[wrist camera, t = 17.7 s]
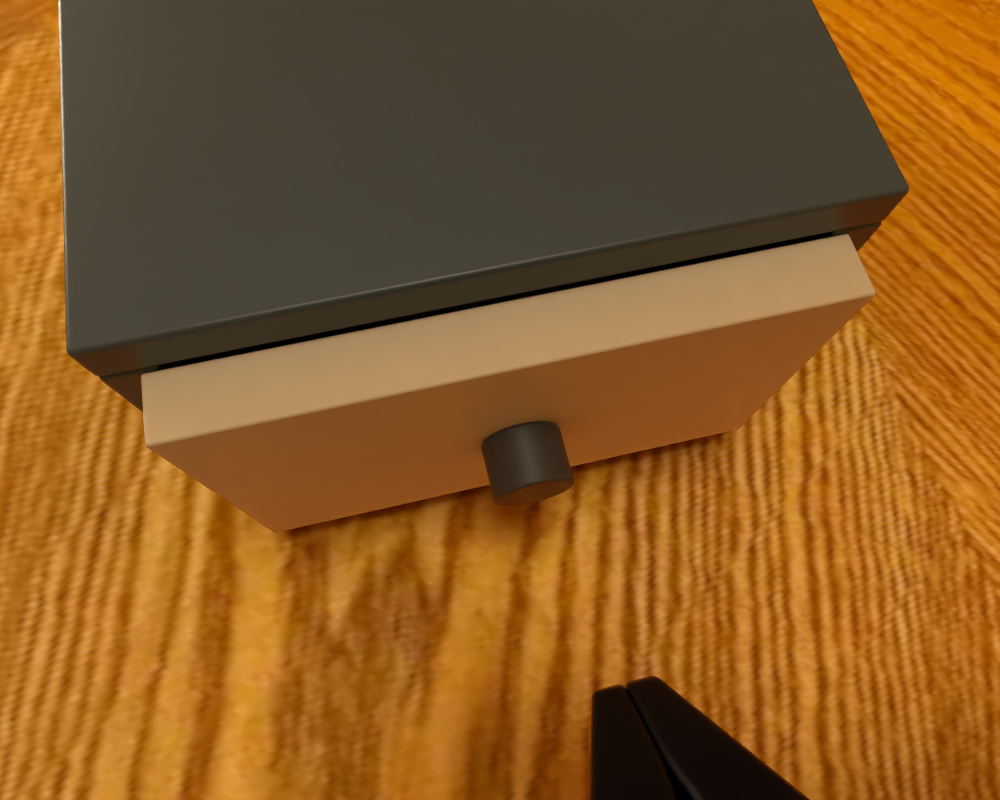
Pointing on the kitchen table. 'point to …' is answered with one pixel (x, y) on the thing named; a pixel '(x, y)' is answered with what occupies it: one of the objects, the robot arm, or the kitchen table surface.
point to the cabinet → (430, 158)
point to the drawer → (501, 386)
